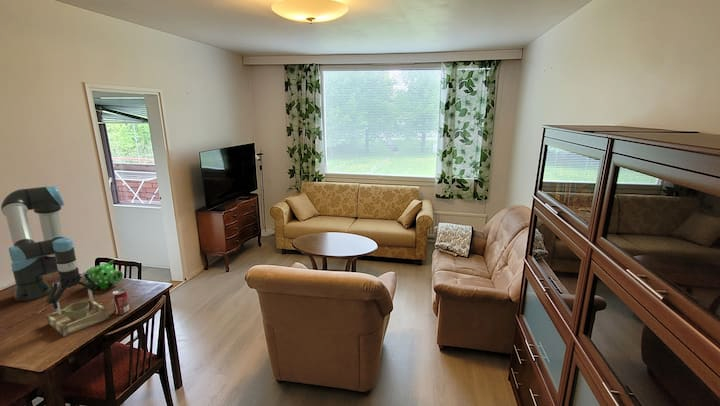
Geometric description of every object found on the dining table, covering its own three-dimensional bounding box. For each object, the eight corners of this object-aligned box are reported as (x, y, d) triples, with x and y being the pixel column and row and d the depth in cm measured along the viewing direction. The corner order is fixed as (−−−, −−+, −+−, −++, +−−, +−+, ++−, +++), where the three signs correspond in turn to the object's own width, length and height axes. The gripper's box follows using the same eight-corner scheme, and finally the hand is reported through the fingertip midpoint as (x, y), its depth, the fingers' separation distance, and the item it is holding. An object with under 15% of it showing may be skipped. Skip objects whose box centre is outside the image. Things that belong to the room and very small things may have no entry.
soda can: (132, 309, 187) (129, 289, 184) (120, 316, 180) (116, 295, 177) (123, 307, 189) (120, 287, 186) (111, 313, 182) (107, 293, 180)
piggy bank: (110, 292, 204) (106, 269, 201) (80, 291, 204) (75, 268, 201) (126, 281, 218) (122, 259, 215) (98, 280, 218) (94, 259, 215)
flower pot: (77, 325, 170) (74, 312, 168) (61, 323, 172) (58, 310, 170) (96, 314, 180) (94, 302, 178) (80, 312, 182) (78, 300, 180)
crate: (48, 324, 173) (46, 314, 171) (92, 307, 188) (90, 298, 187) (63, 336, 163) (61, 326, 162) (108, 317, 179) (107, 308, 178)
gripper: (38, 281, 157) (47, 321, 162) (100, 262, 177) (107, 298, 183) (32, 276, 160) (41, 316, 166) (94, 258, 181) (100, 294, 186)
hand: (76, 307), depth 174 cm, fingers open, 13 cm apart
